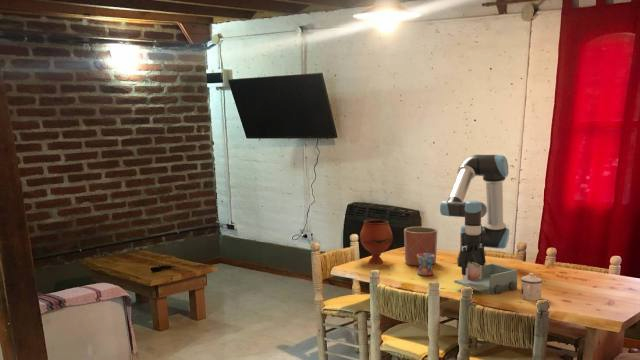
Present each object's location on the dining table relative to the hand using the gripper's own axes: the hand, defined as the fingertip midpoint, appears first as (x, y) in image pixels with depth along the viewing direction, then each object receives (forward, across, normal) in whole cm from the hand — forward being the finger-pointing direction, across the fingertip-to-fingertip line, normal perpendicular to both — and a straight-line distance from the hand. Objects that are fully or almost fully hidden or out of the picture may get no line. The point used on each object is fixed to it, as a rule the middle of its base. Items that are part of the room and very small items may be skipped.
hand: (471, 279), depth 251 cm
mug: (+6, -2, -35) cm, 36 cm away
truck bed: (+6, -13, 0) cm, 15 cm away
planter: (+6, -14, -54) cm, 56 cm away
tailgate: (+3, -4, 0) cm, 4 cm away
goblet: (+6, +7, -69) cm, 70 cm away
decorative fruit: (+1, 0, 0) cm, 1 cm away
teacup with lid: (+6, -14, +22) cm, 27 cm away
